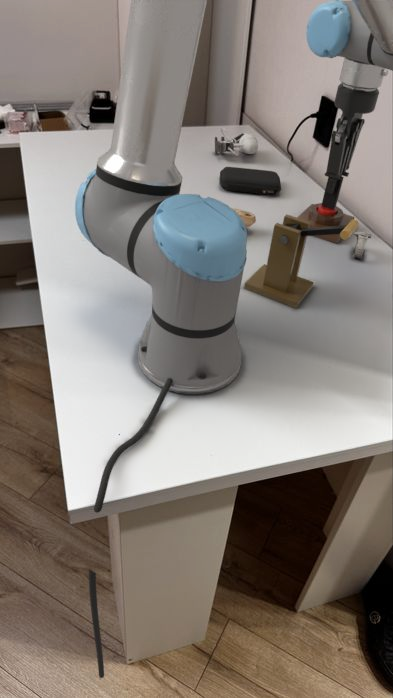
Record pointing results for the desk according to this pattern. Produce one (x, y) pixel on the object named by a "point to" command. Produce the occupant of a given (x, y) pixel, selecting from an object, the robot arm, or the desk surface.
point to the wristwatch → (360, 243)
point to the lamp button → (327, 210)
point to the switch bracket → (283, 266)
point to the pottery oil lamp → (246, 217)
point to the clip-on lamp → (246, 144)
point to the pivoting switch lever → (328, 230)
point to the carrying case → (250, 180)
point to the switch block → (325, 220)
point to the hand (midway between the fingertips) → (328, 206)
